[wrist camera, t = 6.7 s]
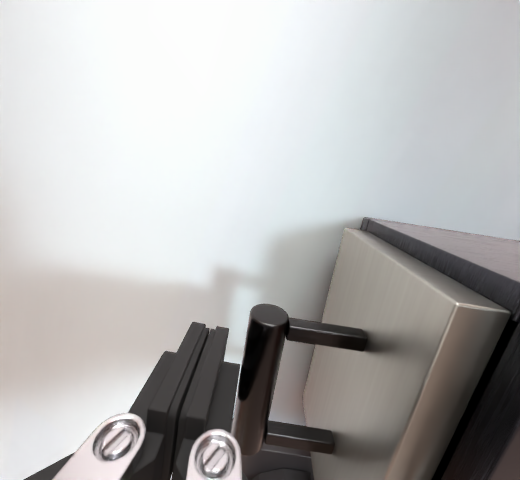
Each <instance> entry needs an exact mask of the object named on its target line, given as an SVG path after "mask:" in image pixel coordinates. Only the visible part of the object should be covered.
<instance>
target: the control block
mask: <svg viewBox="0 0 520 480" xmlns="http://www.w3.org/2000/svg"><path fill="white" fill-rule="evenodd" d="M232 424H233V420H232V423H231V430H232ZM231 430H230V433H231ZM241 467H242V471H243V473H244V474H245V476H246V477H247V479H248V480H314V475H313V468H312V461H311V454H310V451H305V450H299V449H292V448H286V447H279V446H273V445H266V444H265V442H263V446H262V448H261V449H260V451H259V452H257V453H256V454H254V455H252V456H244V455H241Z"/></svg>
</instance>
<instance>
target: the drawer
mask: <svg viewBox="0 0 520 480" xmlns="http://www.w3.org/2000/svg"><path fill="white" fill-rule="evenodd" d="M510 315H511V312H510V311H509V310H507V309H505V308H503V307H502V306H500V305H498V304H496V303H494V302H493V301H491V300H489V299H487V298H486V297H484V296H482V295H480V294H478V293H477V292H475V291H473V290H471V289H469V288H468V287H466V286H464V285H462V284H460V283H459V282H457V281H455V280H453V279H452V278H450V277H448V276H446V275H444V274H443V273H441V272H439V271H437V270H435V269H434V268H432V267H430V266H428V265H426V264H425V263H423V262H421V261H419V260H418V259H416V258H414V257H412V256H410V255H409V254H407V253H405V252H403V251H401V250H400V249H398V248H396V247H394V246H393V245H391V244H389V243H387V242H385V241H384V240H382V239H380V238H378V237H376V236H375V235H373V234H371V233H369V232H367V231H365V230H358V229H352V228H344V232H343V236H342V240H341V244H340V248H339V252H338V256H337V260H336V264H335V268H334V272H333V276H332V280H331V284H330V288H329V292H328V296H327V300H326V304H325V308H324V313H323V317H322V321H321V322H315V321H308V320H302V319H295V318H289V317H288V314H287V313H286V312H285V311H284V310H283V309H282V308H280V307H278V306H275V305H271V304H259V305H256V306H254V307H253V308H252V309H251V311H250V316H249V322H248V328H247V335H246V341H245V348H244V354H243V360H242V367H241V373H240V379H239V386H238V392H237V398H236V405H235V411H234V418H233V424H232V430H231V434H232V435H233V436H234V437H235V439H236V440H237V442H238V444H239V446H240V452H241V455H244V456H252V455H254V454H256V453H257V452H259V451H260V449H261V448H262V446H263V442H265V444H266V445H273V446H279V447H286V448H292V449H299V450H305V451H310V454H311V461H312V468H313V475H314V480H440V479H441V477H442V475H443V473H444V471H445V469H446V467H447V465H448V463H449V461H450V459H451V457H452V455H453V453H454V451H455V449H456V447H457V445H458V443H459V441H460V439H461V437H462V435H463V433H464V431H465V429H466V427H467V425H468V422H469V420H470V418H471V416H472V414H473V412H474V410H475V408H476V406H477V404H478V402H479V400H480V398H481V396H482V394H483V392H484V390H485V388H486V386H487V384H488V382H489V380H490V378H491V376H492V374H493V372H494V370H495V368H496V366H497V364H498V362H499V360H500V358H501V355H502V353H503V351H504V349H505V347H506V345H507V343H508V341H509V339H510V337H511V335H512V333H513V331H514V329H515V327H516V325H517V323H518V322H515V321H513V320H511V319H509V317H510ZM285 336H286V339H287V340H289V341H296V342H302V343H309V344H315V349H314V353H313V357H312V361H311V365H310V369H309V373H308V377H307V381H306V385H305V389H304V393H303V397H302V400H303V407H304V413H305V420H306V426H301V425H294V424H288V423H281V422H275V421H269V420H268V418H269V414H270V409H271V404H272V399H273V394H274V389H275V384H276V380H277V375H278V370H279V365H280V360H281V355H282V351H283V346H284V341H285Z"/></svg>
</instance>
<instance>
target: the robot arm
mask: <svg viewBox="0 0 520 480" xmlns="http://www.w3.org/2000/svg"><path fill="white" fill-rule="evenodd" d="M205 326H206V325H205V324H202V323H197V322H192V324H191V326H190V328H189V330H188V332H187V334H186V335H185V337H184V339H183V341H182V343H181V345H180V347H179V349H178V351H177V353H174V352H169V351H165V352H164V353H163V355H162V356H161V358H160V360H159V361H158V363H157V365H156V366H155V368H154V370H153V371H152V373H151V375H150V377H149V378H148V380H147V382H146V383H145V385H144V387H143V388H142V390H141V392H140V393H139V395H138V397H137V398H136V400H135V402H134V404H133V405H132V407H131V409H130V410H129V412H128V413H123V414H118V415H115V416H113V417H110V418H109V419H107V420H105V421H104V422H102V423H101V424H100V425H99V426H98V427H97V428H96V429H95V430H94V431H93V432H92V433H91V435H90V436H89V437H88V438H87V439H86V440H85V442H84V443H83V444H82V445H81V446H80V448H79V449H78V450H77V451H76V452H75V453H73V454H71V455H69V456H67V457H65V458H63V459H61V460H60V461H58V462H56V463H54V464H52V465H50V466H48V467H46V468H45V469H43V470H41V471H39V472H37V473H35V474H33V475H31V476H30V477H28V478H26V479H24V480H170V478H171V475H172V472H173V475H172V480H248V479H247V477H246V476H245V474H244V473H243V471H242V467H241V452H240V446H239V444H238V442H237V440H236V439H235V437H234V436H233V435H232V434H231V433H230V430H231V423H232V417H233V410H234V403H235V396H236V389H237V383H238V376H239V369H240V364H235V363H229V362H224V355H225V350H226V344H227V338H228V332H229V328H223V327H218V326H217V327H216V330H214V329H211V330H210V333H209V328H205Z"/></svg>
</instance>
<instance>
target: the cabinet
mask: <svg viewBox="0 0 520 480" xmlns="http://www.w3.org/2000/svg"><path fill="white" fill-rule="evenodd" d="M361 230H365V231H367V232H369V233H371V234H373V235H375V236H376V237H378V238H380V239H382V240H384V241H385V242H387V243H389V244H391V245H393V246H394V247H396V248H398V249H400V250H401V251H403V252H405V253H407V254H409V255H410V256H412V257H414V258H416V259H418V260H419V261H421V262H423V263H425V264H426V265H428V266H430V267H432V268H434V269H435V270H437V271H439V272H441V273H443V274H444V275H446V276H448V277H450V278H452V279H453V280H455V281H457V282H459V283H460V284H462V285H464V286H466V287H468V288H469V289H471V290H473V291H475V292H477V293H478V294H480V295H482V296H484V297H486V298H487V299H489V300H491V301H493V302H494V303H496V304H498V305H500V306H502V307H503V308H505V309H507V310H509V311H510V312H511V315H510V317H509V319H511V320H513V321H515V322H518V323H517V325H516V327H515V329H514V331H513V333H512V335H511V337H510V339H509V341H508V343H507V345H506V347H505V349H504V351H503V353H502V355H501V358H500V360H499V362H498V364H497V366H496V368H495V370H494V372H493V374H492V376H491V378H490V380H489V382H488V384H487V386H486V388H485V390H484V392H483V394H482V396H481V398H480V400H479V402H478V404H477V406H476V408H475V410H474V412H473V414H472V416H471V418H470V420H469V422H468V425H467V427H466V429H465V431H464V433H463V435H462V437H461V439H460V441H459V443H458V445H457V447H456V449H455V451H454V453H453V455H452V457H451V459H450V461H449V463H448V465H447V467H446V469H445V471H444V473H443V475H442V477H441V479H440V480H520V241H516V240H509V239H503V238H496V237H490V236H484V235H477V234H471V233H464V232H458V231H451V230H445V229H439V228H432V227H426V226H419V225H413V224H406V223H400V222H394V221H387V220H381V219H374V218H368V217H364V219H363V222H362V226H361Z"/></svg>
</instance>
